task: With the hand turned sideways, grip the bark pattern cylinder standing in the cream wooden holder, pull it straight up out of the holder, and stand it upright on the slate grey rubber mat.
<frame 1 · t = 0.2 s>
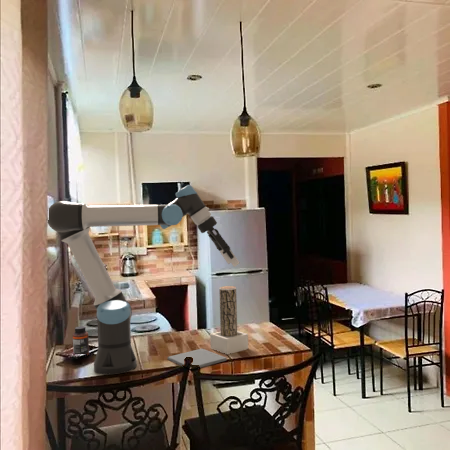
hand: (233, 263, 190), 34 cm above the kitchen counter, tool tilted 35°, fingers open, 13 cm apart
mat: (196, 359, 177), on the kitchen counter
bark pattern cylinder: (229, 349, 191), resting in tube holder
tube holder: (229, 348, 191), on the kitchen counter
supplement bottle: (81, 355, 187), on the kitchen counter
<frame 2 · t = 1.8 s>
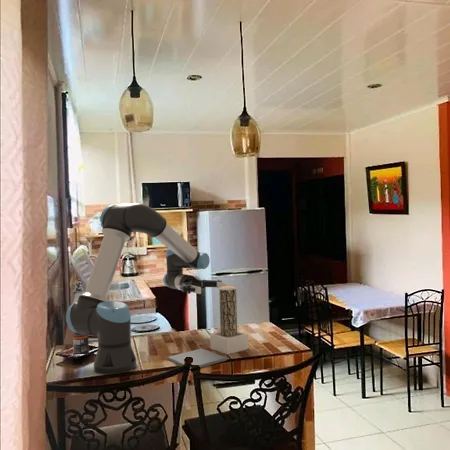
hand: (213, 288, 198), 23 cm above the kitchen counter, tool horizontal, fingers open, 13 cm apart
nothing on the kitchen counter moved.
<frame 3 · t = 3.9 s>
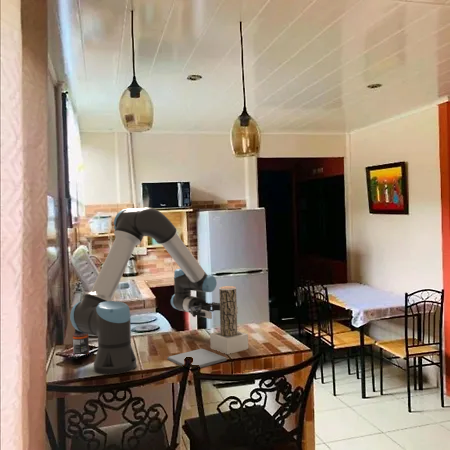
hand: (224, 312, 194), 14 cm above the kitchen counter, tool horizontal, fingers open, 13 cm apart
nothing on the kitchen counter moved.
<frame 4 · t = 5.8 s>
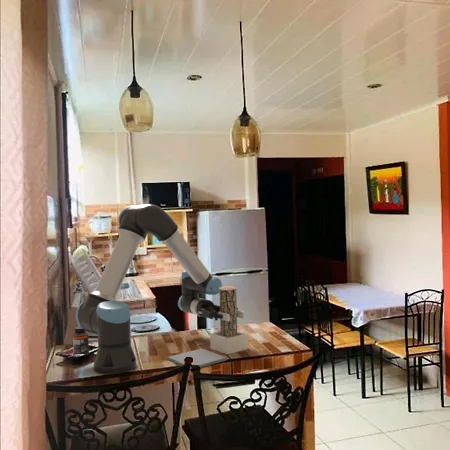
hand: (236, 316, 186), 14 cm above the kitchen counter, tool horizontal, fingers closed on bark pattern cylinder, 7 cm apart
bark pattern cylinder: (229, 349, 191), resting in tube holder, touching gripper
everything else where it was.
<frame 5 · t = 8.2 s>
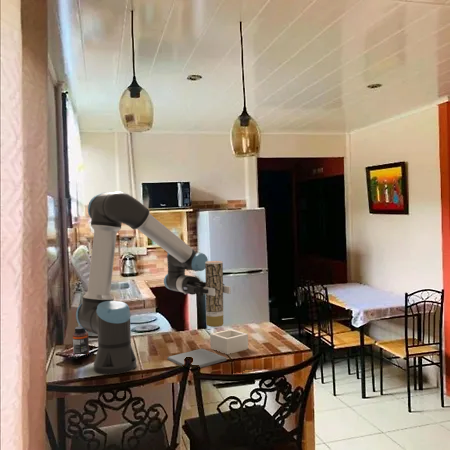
hand: (222, 291, 180), 25 cm above the kitchen counter, tool horizontal, fingers closed on bark pattern cylinder, 7 cm apart
bark pattern cylinder: (214, 325, 184), point 11 cm above the kitchen counter, touching gripper
everything else where it was.
when the fingers open (16 cm above the kitchen counter, at t = 10.8 s): bark pattern cylinder drops 1 cm, resting on mat.
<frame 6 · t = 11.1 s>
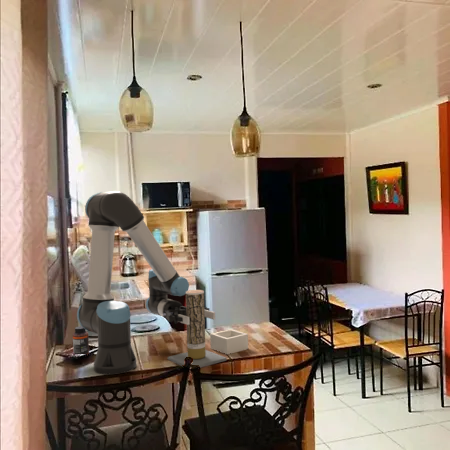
hand: (201, 318, 174), 16 cm above the kitchen counter, tool horizontal, fingers open, 11 cm apart
bark pattern cylinder: (196, 357, 177), point 1 cm above the kitchen counter, touching mat
everything else where it was.
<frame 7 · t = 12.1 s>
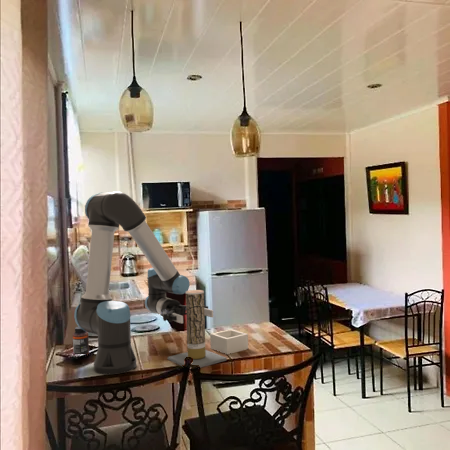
hand: (197, 316, 176), 17 cm above the kitchen counter, tool horizontal, fingers open, 13 cm apart
nothing on the kitchen counter moved.
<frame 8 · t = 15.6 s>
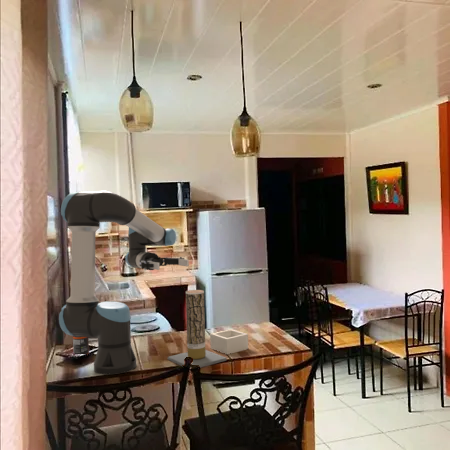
hand: (173, 264, 188), 35 cm above the kitchen counter, tool horizontal, fingers open, 13 cm apart
nothing on the kitchen counter moved.
at the end: bark pattern cylinder inside the target area on the mat (0.1 cm from its centre), point 0.8 cm above the mat's base; bark pattern cylinder tilted 0°; the gripper is holding nothing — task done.
